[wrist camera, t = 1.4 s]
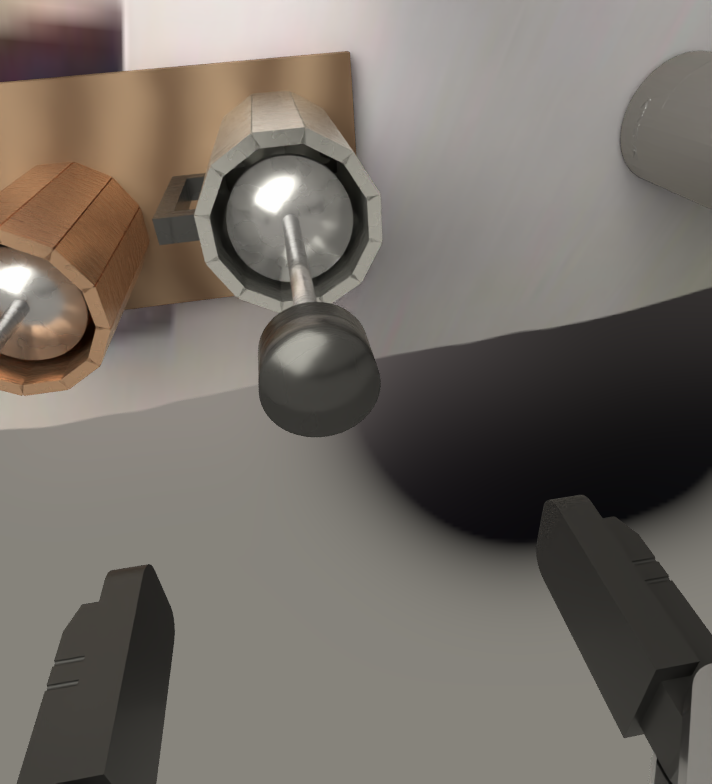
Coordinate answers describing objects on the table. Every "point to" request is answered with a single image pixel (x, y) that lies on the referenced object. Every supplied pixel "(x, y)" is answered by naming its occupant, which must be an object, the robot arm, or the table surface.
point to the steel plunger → (303, 295)
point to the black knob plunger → (38, 308)
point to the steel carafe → (238, 152)
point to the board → (157, 139)
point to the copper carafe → (74, 260)
